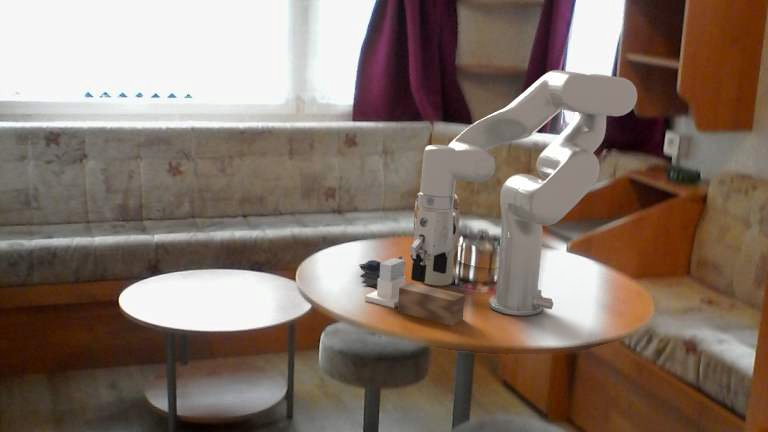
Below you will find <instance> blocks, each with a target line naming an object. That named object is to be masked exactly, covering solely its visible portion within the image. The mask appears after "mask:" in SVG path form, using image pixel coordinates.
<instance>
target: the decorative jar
mask: <svg viewBox="0 0 768 432" xmlns="http://www.w3.org/2000/svg"><path fill="white" fill-rule="evenodd" d="M419 197H420V191H419V192H418V193H416V196H415V198H414V200H415V201H414V202H415V203H414V214H413V215H414V216H413V227H412V228H413V231H412V235H413V236H412V241H413V243H414V238H415V230H416V224H417V218H418V213H419V209H420V208H419ZM460 206H461V204H460V199H459V196H458V195H457V194H455V193H454V202H453V212H454V213H455V214H456V216H455V218H454V223H455V226H456V234H455V248H454V255H455V254H457V250H458V244H459V243H458V242H459V231H460V230H459V228H460V227H459V225H460V215H461V214H460V212H461V211H460V210H461V207H460ZM413 243H412V244H413Z"/></svg>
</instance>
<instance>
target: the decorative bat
mask: <svg viewBox="0 0 768 432" xmlns="http://www.w3.org/2000/svg"><path fill="white" fill-rule="evenodd" d="M402 257H403V255H400V256H399V257H398V258H397V259H402ZM402 260H403V259H402ZM382 262H383V261H382ZM382 262H381V261H378V260H376V259H375V260H374V259H371V260H368V261H366V262H365V263H360V264H358V267H359V268H360V270H361V271H362V272H364V273H362V274H361V275H360V276H359V277H361V278H364V280H362V281H361V283H362V284H364V285H367V286H371V287H374V288H377V283H378V279H379V278H380V263H382Z"/></svg>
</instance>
